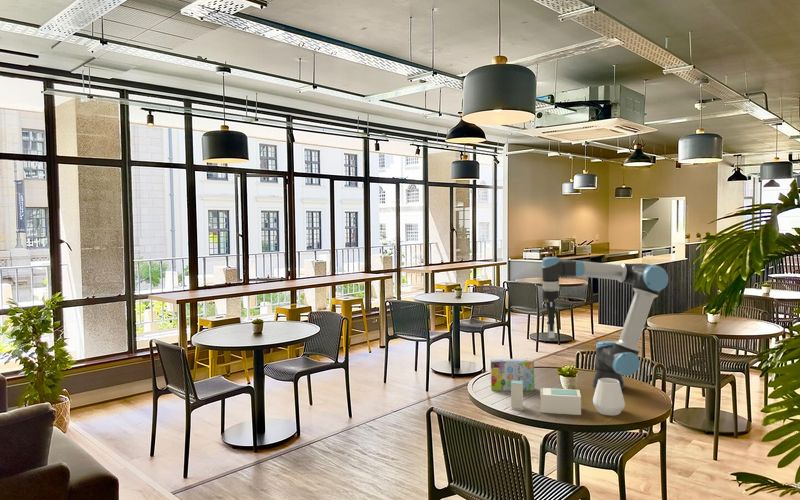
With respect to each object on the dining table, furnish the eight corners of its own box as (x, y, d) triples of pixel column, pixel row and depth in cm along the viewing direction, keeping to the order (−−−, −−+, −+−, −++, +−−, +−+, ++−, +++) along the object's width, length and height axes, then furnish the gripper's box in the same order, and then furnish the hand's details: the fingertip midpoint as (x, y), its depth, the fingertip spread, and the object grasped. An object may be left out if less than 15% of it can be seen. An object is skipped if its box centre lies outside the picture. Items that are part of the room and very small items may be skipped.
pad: (523, 405, 256) (523, 404, 256) (522, 410, 249) (522, 409, 249) (511, 404, 257) (511, 403, 257) (510, 409, 250) (510, 408, 250)
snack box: (532, 387, 281) (532, 358, 280) (534, 391, 276) (534, 361, 275) (490, 387, 283) (490, 358, 282) (491, 390, 278) (490, 361, 277)
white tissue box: (579, 407, 251) (579, 389, 250) (581, 415, 241) (581, 396, 241) (540, 405, 255) (540, 387, 255) (540, 412, 245) (540, 394, 245)
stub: (522, 405, 254) (522, 380, 254) (522, 408, 250) (522, 383, 249) (511, 404, 256) (511, 380, 255) (511, 407, 251) (510, 383, 251)
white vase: (631, 415, 240) (632, 383, 239) (605, 418, 236) (605, 386, 235) (611, 405, 253) (611, 375, 252) (586, 408, 249) (586, 378, 248)
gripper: (542, 286, 274) (542, 329, 275) (542, 293, 250) (543, 340, 251) (558, 286, 272) (558, 329, 273) (559, 293, 248) (560, 340, 249)
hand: (551, 334), depth 262 cm, fingers open, 13 cm apart
